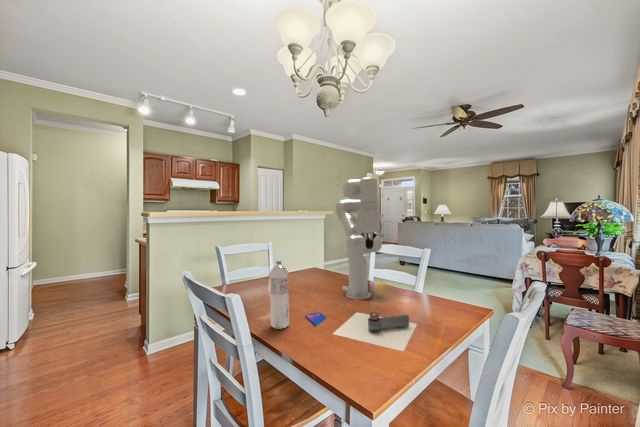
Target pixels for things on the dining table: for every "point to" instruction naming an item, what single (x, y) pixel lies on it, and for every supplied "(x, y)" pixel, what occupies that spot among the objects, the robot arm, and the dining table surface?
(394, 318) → the grey lever handle
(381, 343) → the dial plate
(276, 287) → the water bottle
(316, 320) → the smartphone
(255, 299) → the dining table surface
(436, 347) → the dining table surface
